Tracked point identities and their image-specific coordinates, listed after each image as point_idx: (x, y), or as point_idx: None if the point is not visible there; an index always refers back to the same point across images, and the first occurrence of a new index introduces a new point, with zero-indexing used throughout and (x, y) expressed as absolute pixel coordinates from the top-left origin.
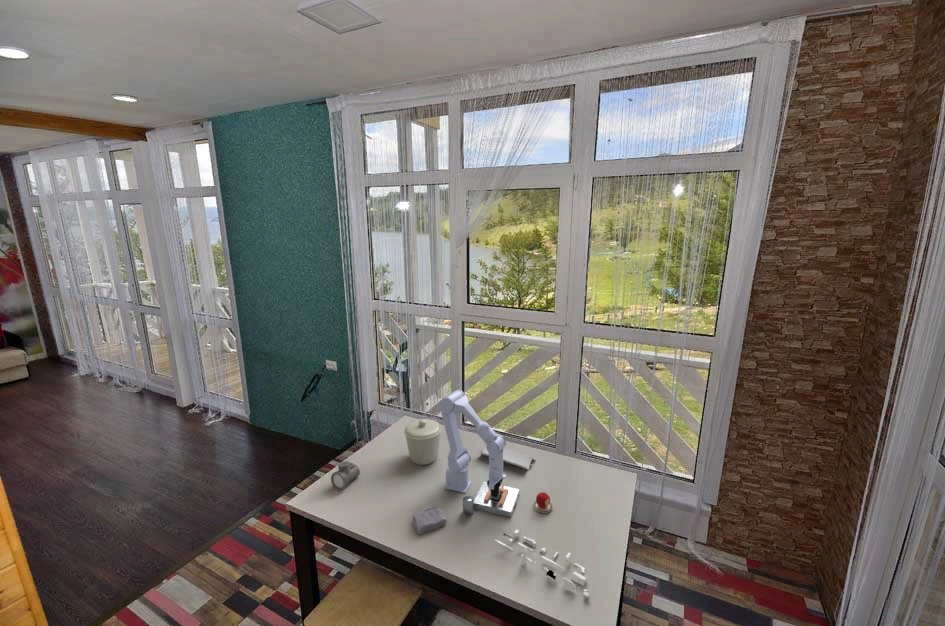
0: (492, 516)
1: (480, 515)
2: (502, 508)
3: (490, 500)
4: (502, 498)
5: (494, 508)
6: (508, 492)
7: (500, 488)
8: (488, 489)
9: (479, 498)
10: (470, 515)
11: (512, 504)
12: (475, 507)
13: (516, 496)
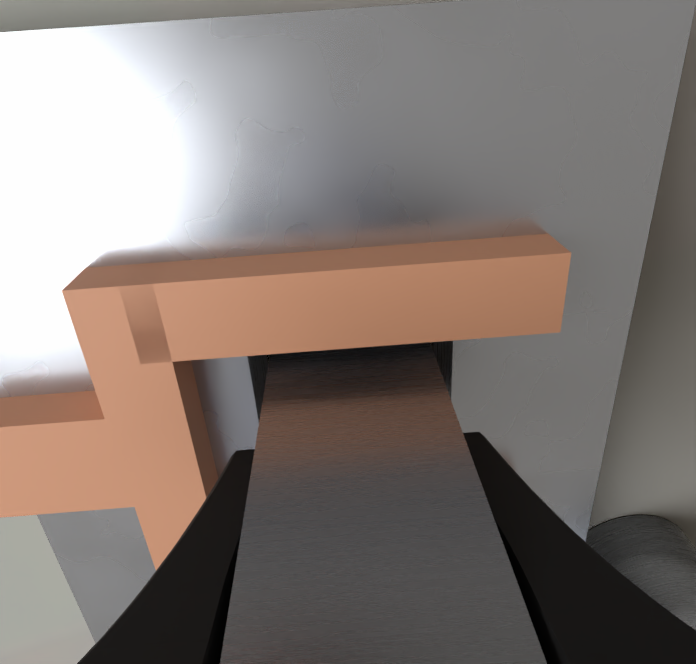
0: (649, 305)
1: (652, 443)
2: (617, 214)
3: None
4: (404, 310)
5: (615, 345)
6: (101, 256)
7: (327, 504)
8: None
9: None
10: (681, 531)
11: (441, 34)
12: None
13: (117, 26)
